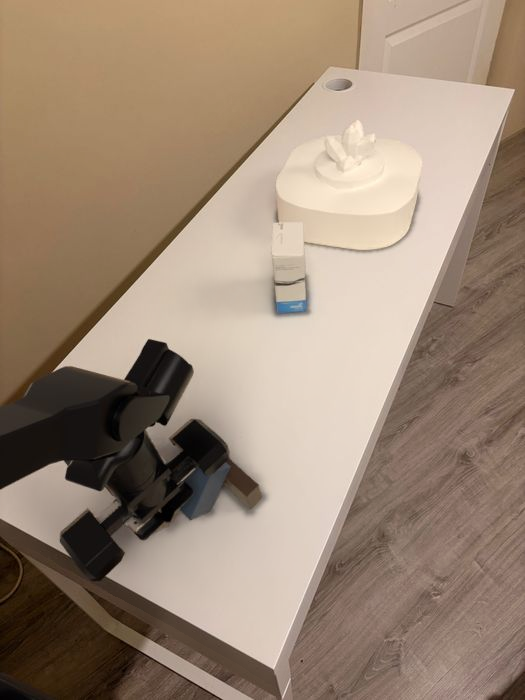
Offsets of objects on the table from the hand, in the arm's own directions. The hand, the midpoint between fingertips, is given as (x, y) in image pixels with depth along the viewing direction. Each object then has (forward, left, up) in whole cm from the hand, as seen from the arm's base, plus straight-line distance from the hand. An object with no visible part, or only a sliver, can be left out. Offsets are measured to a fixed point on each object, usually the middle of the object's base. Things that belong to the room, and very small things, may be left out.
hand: (167, 520), depth 59 cm
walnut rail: (+9, 0, -1) cm, 9 cm away
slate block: (+5, 0, +3) cm, 6 cm away
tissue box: (+63, +23, -1) cm, 67 cm away
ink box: (+38, +15, -1) cm, 41 cm away
